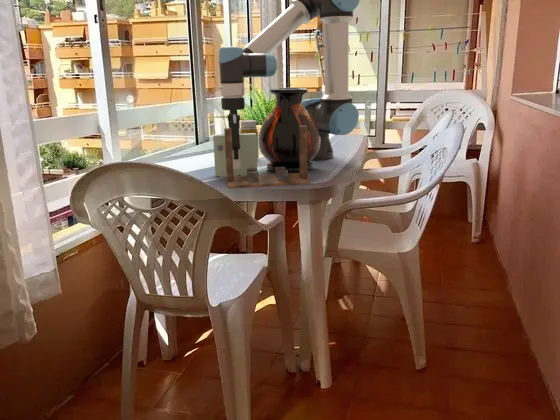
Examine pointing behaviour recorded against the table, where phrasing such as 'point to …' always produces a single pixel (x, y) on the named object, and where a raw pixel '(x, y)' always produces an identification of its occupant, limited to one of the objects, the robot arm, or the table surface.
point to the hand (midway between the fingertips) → (235, 166)
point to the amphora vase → (288, 131)
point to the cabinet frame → (280, 173)
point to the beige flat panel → (246, 154)
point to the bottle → (250, 130)
